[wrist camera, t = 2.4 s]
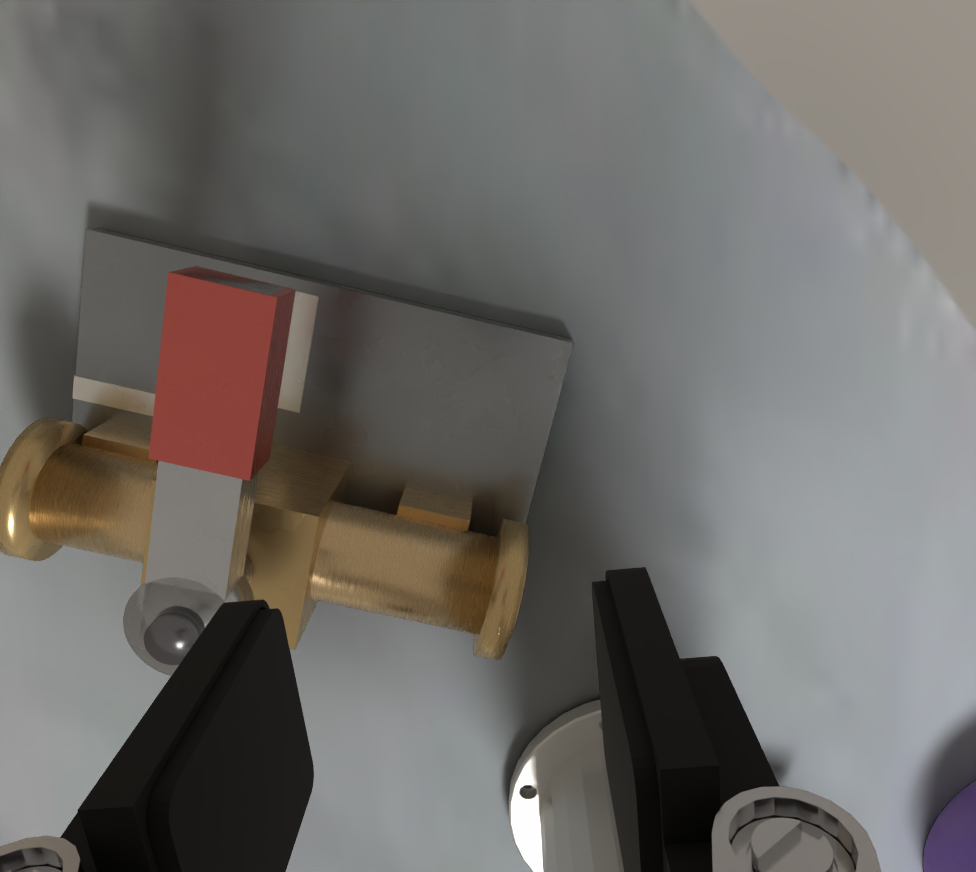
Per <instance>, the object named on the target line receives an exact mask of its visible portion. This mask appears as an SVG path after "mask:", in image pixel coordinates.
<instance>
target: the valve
mask: <svg viewBox="0 0 976 872" xmlns="http://www.w3.org/2000/svg"><path fill="white" fill-rule="evenodd" d="M194 266H199V267H203V268H207V269H212V270H216V271H220V272H225V273H229V274H233V275H237V276H242V277H246V278H250V279H255V280H259V281H263V282H267V283H272V284H276V285H280V286H285V287H289V288H293V289H296V292H295V299H294V305H293V312H292V318H291V325H290V331H289V337H288V344H287V350H286V357H285V363H284V370H283V376H282V383H281V389H280V396H279V402H278V408H277V415H276V421H275V428H274V434H273V441H272V447H271V454H270V459H269V460H268V461H267V463H266V464H265V465H264V466H263V467H262V468H261V469H260V470H259V475H258V481H257V488H256V494H255V501H254V508H253V514H252V521H251V527H250V534H249V541H248V547H247V554H246V560H245V567H244V574H243V575H244V576H245V578H246V579H247V580H248V582H249V584H250V586H251V589H252V591H253V595H254V600H262V599H264V600H265V601H266V602H267V604H268V605H269V608H270V609H274V608H278V609H279V610H280V611H281V613H282V616H283V620H284V625H285V630H286V634H287V639H288V644H289V649H294V650H295V649H296V647H297V645H298V642H299V640H300V638H301V636H302V634H303V632H304V630H305V627H306V625H307V623H308V621H309V619H310V617H311V615H312V612H313V610H314V608H315V606H316V604H317V602H318V601H323V602H327V603H332V604H337V605H341V606H346V607H351V608H355V609H360V610H365V611H369V612H374V613H378V614H383V615H388V616H392V617H397V618H402V619H406V620H411V621H416V622H420V623H425V624H429V625H434V626H439V627H443V628H448V629H453V630H457V631H462V632H467V633H471V634H474V642H473V654H474V655H476V656H480V657H485V658H490V659H494V660H500V659H501V658H502V656H503V654H504V652H505V649H506V647H507V644H508V641H509V639H510V637H511V635H512V633H513V630H514V627H515V624H516V620H517V617H518V613H519V609H520V605H521V601H522V596H523V591H524V586H525V580H526V574H527V566H528V555H529V548H528V537H529V530H528V525H527V524H526V520H527V516H528V513H529V509H530V505H531V501H532V497H533V494H534V490H535V486H536V482H537V479H538V475H539V471H540V467H541V464H542V460H543V456H544V452H545V449H546V445H547V441H548V437H549V434H550V430H551V426H552V422H553V419H554V415H555V411H556V407H557V404H558V400H559V396H560V392H561V389H562V385H563V381H564V377H565V374H566V370H567V366H568V362H569V359H570V355H571V351H572V347H573V344H574V343H573V341H572V339H570V338H565V337H561V336H557V335H553V334H548V333H544V332H540V331H536V330H531V329H527V328H523V327H518V326H514V325H510V324H506V323H501V322H497V321H493V320H489V319H484V318H480V317H476V316H472V315H467V314H463V313H459V312H454V311H450V310H446V309H442V308H437V307H433V306H429V305H425V304H420V303H416V302H412V301H407V300H403V299H399V298H395V297H390V296H386V295H382V294H378V293H373V292H369V291H365V290H361V289H356V288H352V287H348V286H343V285H339V284H335V283H331V282H326V281H322V280H318V279H314V278H309V277H305V276H301V275H296V274H292V273H288V272H284V271H279V270H275V269H271V268H267V267H262V266H258V265H254V264H250V263H245V262H241V261H237V260H232V259H228V258H224V257H220V256H215V255H211V254H207V253H203V252H198V251H194V250H190V249H185V248H181V247H177V246H173V245H168V244H164V243H160V242H156V241H151V240H147V239H143V238H139V237H134V236H130V235H126V234H121V233H117V232H113V231H109V230H104V229H100V228H94V229H86V236H85V250H84V263H83V277H82V290H81V304H80V318H79V331H78V345H77V359H76V372H75V376H74V383H73V397H72V398H73V413H72V422H68V421H63V420H59V419H54V418H43V419H40V420H37V421H36V422H34V423H32V424H31V425H30V426H28V427H27V428H26V429H25V430H24V431H23V432H22V433H21V434H20V435H19V436H18V438H17V439H16V440H15V441H14V443H13V444H12V446H11V447H10V449H9V451H8V452H7V454H6V456H5V458H4V460H3V462H2V464H1V466H0V552H2V553H3V554H5V555H9V556H14V557H19V558H23V559H28V560H33V561H41V560H45V559H47V558H49V557H50V556H52V555H53V554H55V553H56V552H57V551H58V550H59V549H60V548H61V547H62V546H68V547H72V548H77V549H82V550H86V551H91V552H96V553H100V554H105V555H109V556H114V557H119V558H123V559H128V560H133V561H137V562H142V563H143V572H142V581H141V585H142V584H143V583H144V582H145V578H146V569H147V560H148V551H149V542H150V533H151V523H152V514H153V505H154V496H155V487H156V478H157V469H158V460H153V459H149V450H150V441H151V431H152V422H153V412H154V403H155V393H156V384H157V374H158V365H159V356H160V346H161V337H162V327H163V318H164V308H165V299H166V289H167V280H168V272H172V271H176V270H180V269H185V268H189V267H194Z"/></svg>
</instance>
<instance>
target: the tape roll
mask: <svg viewBox="0 0 976 872" xmlns="http://www.w3.org/2000/svg"><path fill="white" fill-rule="evenodd" d="M923 870H924V872H976V780H975V781H974V782H972V783H971V784H969V785H968V786H967V787H965V788H964V789H963V790H961V791H960V792H959V793H958V794H957V795H956V796H955V797H954V798H953V799H952V800H951V801H950V802H949V803H948V805H947V806H946V807H945V808H944V809H943V811H942V812H941V813H940V815H939V816H938V817H937V819H936V821H935V823H934V825H933V826H932V828H931V830H930V832H929V835H928V838H927V841H926V844H925V848H924V855H923Z"/></svg>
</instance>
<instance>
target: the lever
mask: <svg viewBox="0 0 976 872" xmlns="http://www.w3.org/2000/svg"><path fill="white" fill-rule="evenodd" d="M295 292H296V289H293V288H289V287H285V286H280V285H276V284H272V283H267V282H263V281H259V280H255V279H250V278H246V277H242V276H237V275H233V274H229V273H225V272H220V271H216V270H212V269H207V268H203V267H199V266H194V267H189V268H185V269H180V270H176V271H172V272H168V280H167V289H166V299H165V308H164V318H163V327H162V337H161V346H160V356H159V365H158V374H157V384H156V393H155V403H154V412H153V422H152V431H151V441H150V450H149V459H153V460H158V469H157V478H156V487H155V496H154V505H153V514H152V523H151V533H150V542H149V551H148V560H147V569H146V578H145V582H144V583H143V584H142V585H141V586H140V587H139V588H138V589H137V590H136V591H135V592H134V594H133V595H132V596H131V598H130V599H129V601H128V603H127V605H126V608H125V611H124V616H123V625H124V631H125V635H126V638H127V640H128V643H129V644H130V646H131V648H132V649H133V651H134V652H135V653H136V655H137V656H138V657H139V658H140V659H141V660H142V661H144V662H145V663H146V664H147V665H149V666H150V667H152V668H153V669H155V670H157V671H159V672H161V673H164V674H167V675H170V676H172V674H173V673H174V672H175V670H176V669H177V667H178V666H179V664H180V663H181V662H182V660H183V659H184V657H185V656H186V654H187V653H188V652H189V650H190V649H191V647H192V646H193V644H194V643H195V642H196V640H197V639H198V637H199V636H200V634H201V633H202V632H203V630H204V629H205V627H206V626H207V624H208V623H209V621H210V620H211V619H212V617H213V616H214V614H215V613H216V611H217V610H218V609H219V607H220V606H221V605H222V604H223V603H226V602H238V601H250V600H254V595H253V591H252V589H251V586H250V584H249V582H248V580H247V579H246V578H245V576H244V575H243V574H244V567H245V560H246V554H247V547H248V541H249V534H250V527H251V521H252V514H253V508H254V501H255V494H256V488H257V481H258V475H259V470H260V469H261V468H262V467H263V466H264V465H265V464H266V463H267V461H268V460H269V459H270V454H271V447H272V441H273V434H274V428H275V421H276V415H277V408H278V402H279V396H280V389H281V383H282V376H283V370H284V363H285V357H286V350H287V344H288V337H289V331H290V325H291V318H292V312H293V305H294V299H295Z"/></svg>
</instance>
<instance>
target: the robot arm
mask: <svg viewBox="0 0 976 872" xmlns="http://www.w3.org/2000/svg"><path fill="white" fill-rule="evenodd" d="M592 596H593V609H594V623H595V636H596V650H597V663H598V677H599V691H600V699H599V700H596V701H592V702H589V703H586V704H583V705H581V706H579V707H577V708H575V709H572V710H570V711H568V712H566V713H564V714H562V715H561V716H559V717H558V718H557V719H555V720H554V721H552V722H551V723H550V724H548V725H547V726H546V727H544V728H543V729H542V730H541V731H540V732H539V733H538V734H537V735H536V736H535V738H534V739H533V740H532V741H531V742H530V743H529V744H528V745H527V747H526V749H525V750H524V752H523V754H522V755H521V757H520V758H519V760H518V762H517V764H516V767H515V770H514V773H513V776H512V778H511V783H510V791H509V823H510V827H511V831H512V835H513V840H514V842H515V844H516V846H517V848H518V850H519V852H520V854H521V856H522V858H523V859H524V861H525V862H526V863H527V864H528V866H529V867H530V868H531V869H532V871H533V872H881V869H880V865H879V861H878V858H877V854H876V850H875V848H874V846H873V844H872V842H871V840H870V838H869V836H868V834H867V831H866V830H865V829H864V828H863V827H862V826H861V825H860V824H859V823H858V822H857V820H856V819H855V818H854V817H853V816H852V815H851V814H850V813H848V812H847V811H845V810H844V809H842V808H841V807H839V806H838V805H836V804H835V803H833V802H832V801H830V800H828V799H826V798H823V797H821V796H818V795H816V794H813V793H811V792H808V791H804V790H799V789H794V788H789V787H784V786H782V787H779V785H778V782H777V780H776V778H775V776H774V774H773V772H772V769H771V767H770V765H769V763H768V761H767V759H766V756H765V754H764V752H763V750H762V748H761V746H760V743H759V741H758V739H757V737H756V735H755V733H754V730H753V728H752V726H751V724H750V722H749V719H748V717H747V715H746V713H745V711H744V709H743V706H742V704H741V702H740V700H739V698H738V696H737V693H736V691H735V689H734V687H733V685H732V683H731V680H730V678H729V676H728V674H727V672H726V669H725V667H724V665H723V663H722V662H721V660H720V658H719V657H717V656H711V657H698V658H685V659H680V658H679V656H678V653H677V650H676V648H675V645H674V642H673V640H672V637H671V634H670V632H669V629H668V626H667V623H666V621H665V618H664V615H663V613H662V610H661V607H660V605H659V602H658V599H657V597H656V594H655V591H654V588H653V586H652V583H651V580H650V578H649V575H648V572H647V570H646V568H645V567H643V568H631V569H619V570H607V571H606V581H599V582H592ZM313 778H314V770H313V761H312V756H311V751H310V746H309V742H308V737H307V732H306V727H305V722H304V717H303V712H302V707H301V703H300V698H299V693H298V688H297V683H296V678H295V673H294V668H293V664H292V659H291V654H290V649H289V644H288V639H287V634H286V630H285V625H284V620H283V616H282V613H281V611H280V610H279V609H278V608H274V609H270V608H269V605H268V604H267V602H266V601H265V600H264V599H262V600H250V601H238V602H226V603H223V604H222V605H221V606H220V607H219V609H218V610H217V611H216V613H215V614H214V616H213V617H212V619H211V620H210V621H209V623H208V624H207V626H206V627H205V629H204V630H203V632H202V633H201V634H200V636H199V637H198V639H197V640H196V642H195V643H194V644H193V646H192V647H191V649H190V650H189V652H188V653H187V654H186V656H185V657H184V659H183V660H182V662H181V663H180V664H179V666H178V667H177V669H176V670H175V672H174V673H173V674H172V676H171V677H170V679H169V680H168V682H167V683H166V685H165V686H164V687H163V689H162V690H161V692H160V693H159V695H158V696H157V697H156V699H155V700H154V702H153V703H152V705H151V706H150V707H149V709H148V710H147V712H146V713H145V715H144V716H143V717H142V719H141V720H140V722H139V723H138V725H137V726H136V727H135V729H134V730H133V732H132V733H131V735H130V736H129V737H128V739H127V740H126V742H125V743H124V745H123V746H122V748H121V749H120V750H119V752H118V753H117V755H116V756H115V758H114V759H113V760H112V762H111V763H110V765H109V766H108V768H107V769H106V770H105V772H104V773H103V775H102V776H101V778H100V779H99V780H98V782H97V783H96V785H95V786H94V788H93V789H92V790H91V792H90V793H89V795H88V796H87V798H86V799H85V800H84V802H83V803H82V805H81V806H80V808H79V809H78V813H77V814H76V816H75V817H74V819H73V820H72V821H71V823H70V824H69V826H68V827H67V829H66V830H65V831H64V833H63V834H62V836H61V837H60V838H58V837H52V836H41V837H33V838H26V839H22V840H19V841H16V842H13V843H10V844H7V845H4V846H1V847H0V872H285V871H286V868H287V865H288V862H289V859H290V856H291V853H292V850H293V847H294V844H295V841H296V838H297V835H298V832H299V829H300V826H301V823H302V819H303V816H304V813H305V810H306V807H307V804H308V801H309V798H310V795H311V792H312V788H313Z"/></svg>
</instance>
